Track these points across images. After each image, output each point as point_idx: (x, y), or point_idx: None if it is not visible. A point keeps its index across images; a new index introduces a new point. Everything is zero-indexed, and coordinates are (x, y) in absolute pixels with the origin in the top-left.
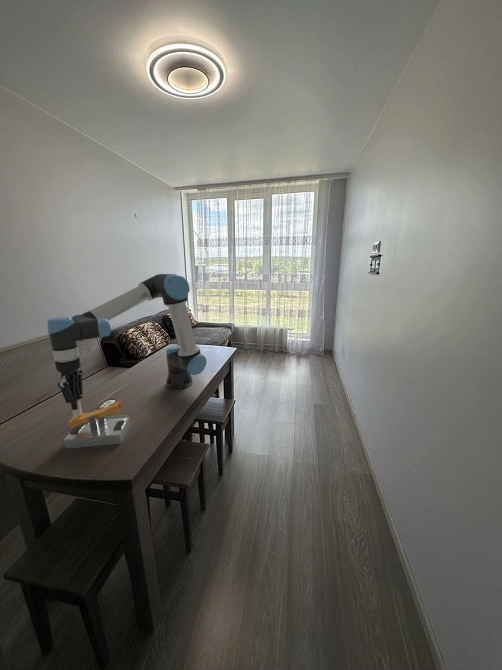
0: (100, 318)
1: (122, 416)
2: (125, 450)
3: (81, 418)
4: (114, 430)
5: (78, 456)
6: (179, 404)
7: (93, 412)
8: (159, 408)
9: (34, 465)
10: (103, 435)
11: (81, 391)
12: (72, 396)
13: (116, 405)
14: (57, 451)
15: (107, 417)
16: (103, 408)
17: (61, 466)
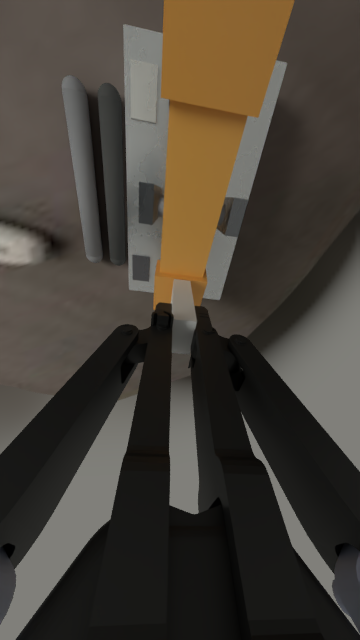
0: None
1: (78, 118)
2: (323, 50)
3: (197, 274)
4: None
5: (261, 245)
6: None
7: (180, 229)
8: None
9: (245, 325)
10: (254, 166)
11: (123, 341)
12: (260, 371)
13: None
14: (215, 301)
15: (87, 201)
16: (177, 163)
17: (280, 273)
